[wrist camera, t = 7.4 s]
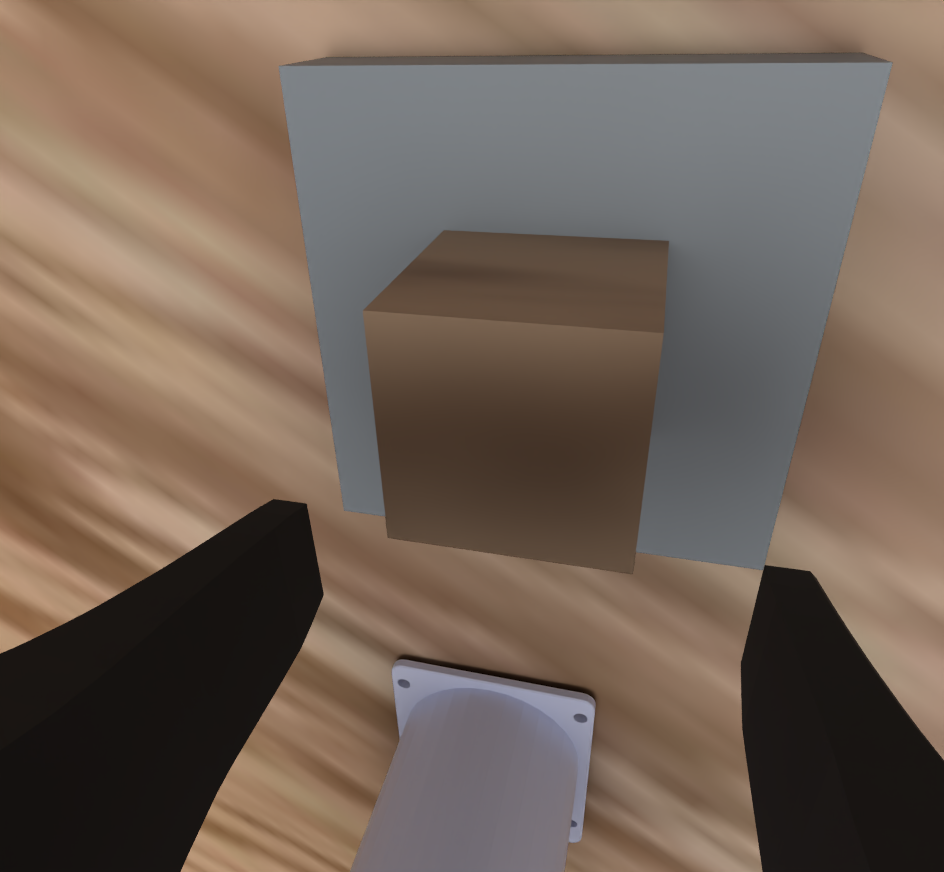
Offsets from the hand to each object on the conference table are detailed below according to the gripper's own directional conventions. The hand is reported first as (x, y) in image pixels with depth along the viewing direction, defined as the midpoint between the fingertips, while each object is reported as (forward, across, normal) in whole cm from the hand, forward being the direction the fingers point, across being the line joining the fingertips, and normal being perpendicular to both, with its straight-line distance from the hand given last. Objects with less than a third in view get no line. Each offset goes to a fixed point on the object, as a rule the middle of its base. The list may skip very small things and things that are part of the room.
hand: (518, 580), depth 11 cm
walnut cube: (+7, +1, -1) cm, 7 cm away
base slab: (+10, +1, -1) cm, 10 cm away
